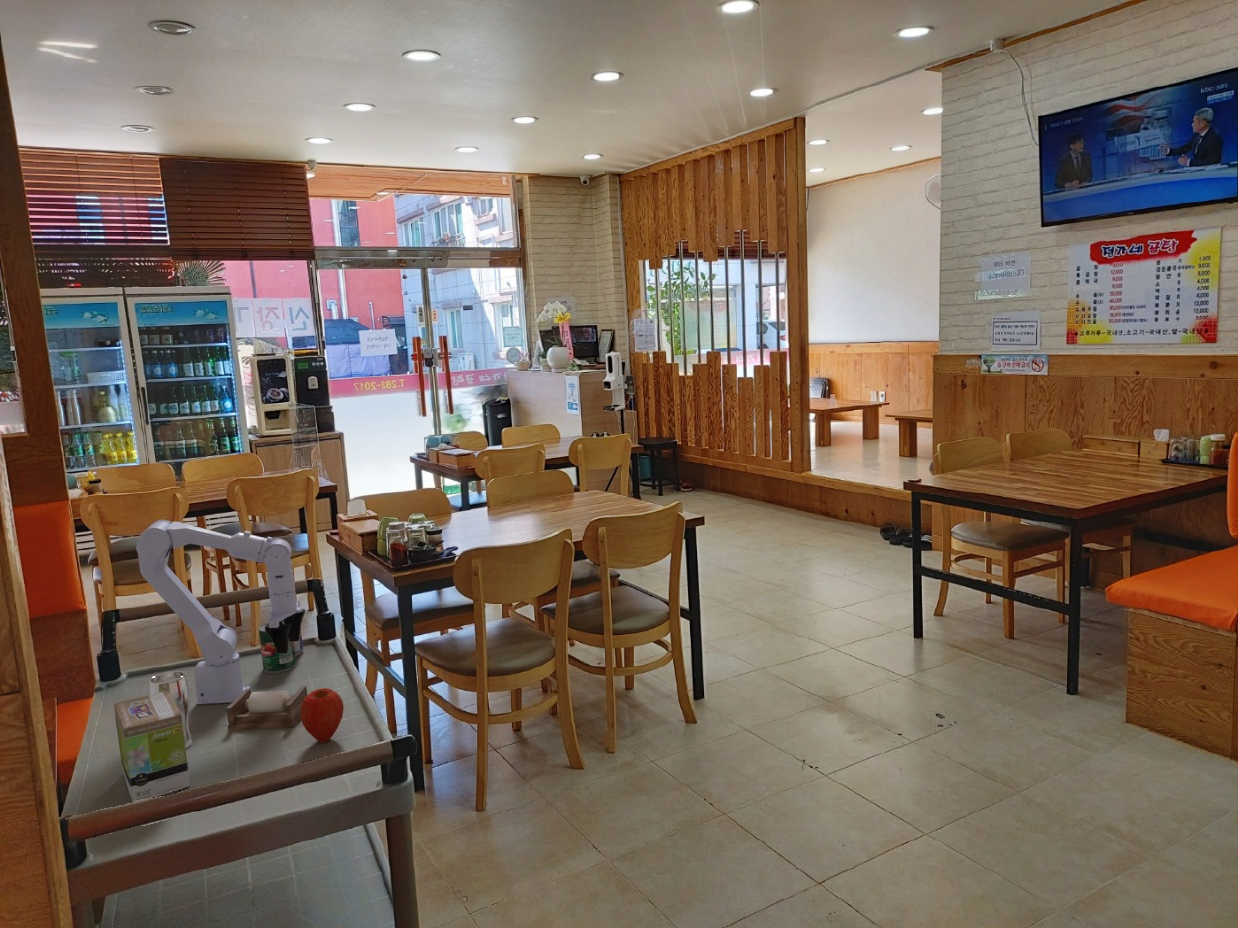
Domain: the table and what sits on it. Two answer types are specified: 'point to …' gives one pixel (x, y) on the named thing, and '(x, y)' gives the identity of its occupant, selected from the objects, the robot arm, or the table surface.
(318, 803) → the table surface
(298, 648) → the energy drink
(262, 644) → the canned tomato
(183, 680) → the beer glass
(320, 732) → the apple
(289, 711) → the holder
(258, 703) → the roll
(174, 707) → the tea box
